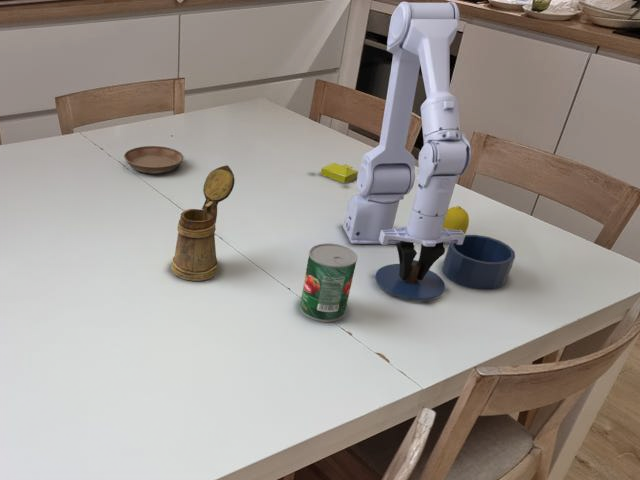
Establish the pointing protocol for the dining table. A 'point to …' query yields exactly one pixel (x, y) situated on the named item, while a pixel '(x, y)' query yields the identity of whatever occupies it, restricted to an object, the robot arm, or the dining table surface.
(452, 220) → the lemon
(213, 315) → the dining table surface
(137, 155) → the saucer
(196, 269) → the wooden mug
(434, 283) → the pot lid
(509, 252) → the pot
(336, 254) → the canned tomato
